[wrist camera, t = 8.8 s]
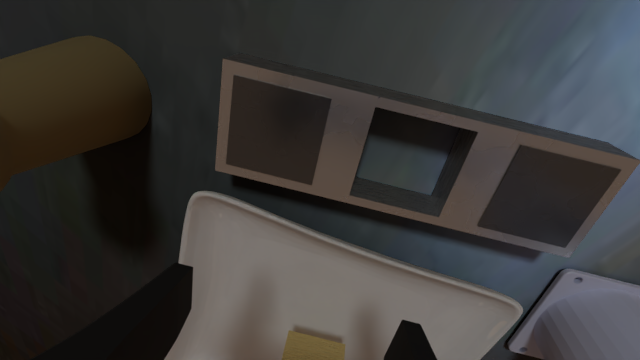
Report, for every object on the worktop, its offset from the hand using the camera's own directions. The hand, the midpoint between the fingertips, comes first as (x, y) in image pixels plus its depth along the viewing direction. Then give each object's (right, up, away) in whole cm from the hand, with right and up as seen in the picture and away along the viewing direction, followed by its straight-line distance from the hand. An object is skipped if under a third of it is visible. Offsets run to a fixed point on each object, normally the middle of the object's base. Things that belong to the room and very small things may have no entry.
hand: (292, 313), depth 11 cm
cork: (-12, +10, +9) cm, 18 cm away
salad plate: (+1, -7, +16) cm, 17 cm away
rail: (+6, +6, +8) cm, 12 cm away
